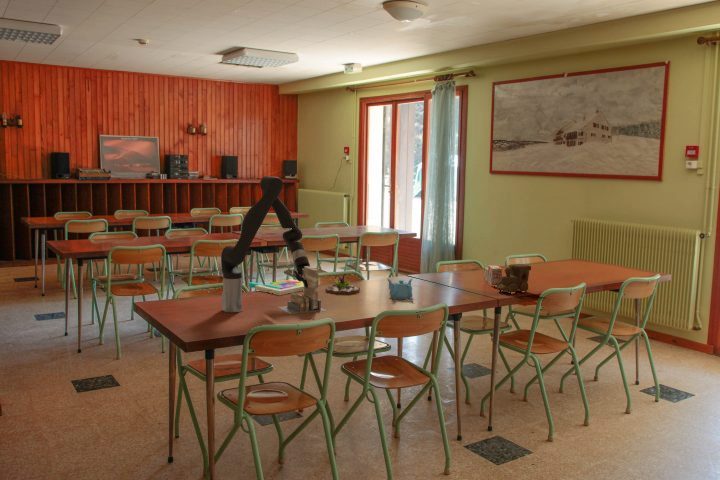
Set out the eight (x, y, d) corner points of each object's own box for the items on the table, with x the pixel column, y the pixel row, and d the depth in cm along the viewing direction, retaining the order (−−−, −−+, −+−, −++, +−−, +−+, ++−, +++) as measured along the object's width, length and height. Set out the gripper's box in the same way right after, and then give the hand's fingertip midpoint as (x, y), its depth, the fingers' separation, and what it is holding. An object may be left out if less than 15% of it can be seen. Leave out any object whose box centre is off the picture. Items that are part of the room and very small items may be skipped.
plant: (352, 296, 377) (353, 277, 376) (321, 293, 383) (321, 274, 382) (363, 290, 396) (364, 272, 395) (333, 287, 402) (334, 269, 401)
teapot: (414, 300, 369) (415, 283, 368) (388, 300, 369) (388, 282, 368) (411, 295, 384) (412, 278, 383) (386, 294, 383) (386, 277, 382)
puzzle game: (315, 288, 397) (281, 281, 415) (315, 284, 396) (281, 277, 415) (279, 296, 374) (245, 288, 392) (279, 291, 373) (245, 283, 392)
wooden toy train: (516, 289, 412) (518, 263, 410) (531, 292, 403) (532, 265, 400) (494, 292, 400) (496, 265, 398) (508, 295, 391) (510, 268, 389)
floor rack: (290, 316, 325) (290, 304, 324) (277, 309, 338) (278, 297, 338) (326, 313, 334) (326, 300, 333) (312, 306, 348) (313, 294, 347)
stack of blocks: (483, 281, 436) (484, 262, 434) (492, 281, 436) (493, 263, 435) (491, 287, 415) (492, 268, 413) (501, 287, 415) (502, 268, 414)
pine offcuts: (300, 311, 329) (300, 298, 328) (290, 306, 340) (291, 293, 339) (308, 310, 332) (309, 297, 331) (299, 305, 342) (299, 292, 341)
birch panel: (313, 308, 333) (314, 270, 330) (303, 303, 343) (304, 266, 341) (317, 308, 334) (318, 270, 331) (307, 303, 344) (308, 266, 342)
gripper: (290, 256, 341) (299, 283, 332) (314, 255, 348) (324, 282, 339) (286, 264, 347) (295, 291, 338) (310, 263, 353) (319, 290, 344)
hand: (309, 286), depth 339 cm, fingers closed on birch panel, 2 cm apart
